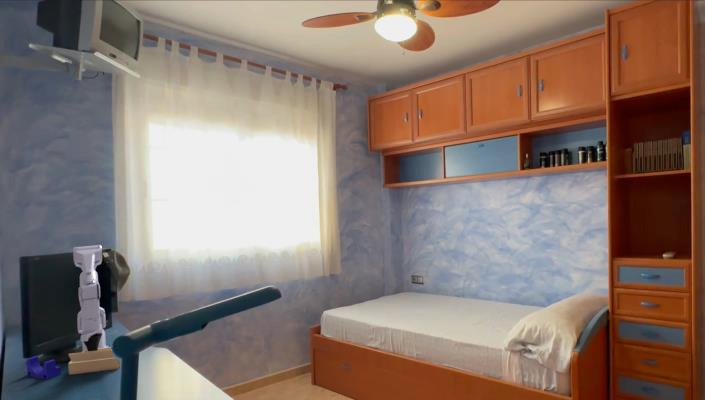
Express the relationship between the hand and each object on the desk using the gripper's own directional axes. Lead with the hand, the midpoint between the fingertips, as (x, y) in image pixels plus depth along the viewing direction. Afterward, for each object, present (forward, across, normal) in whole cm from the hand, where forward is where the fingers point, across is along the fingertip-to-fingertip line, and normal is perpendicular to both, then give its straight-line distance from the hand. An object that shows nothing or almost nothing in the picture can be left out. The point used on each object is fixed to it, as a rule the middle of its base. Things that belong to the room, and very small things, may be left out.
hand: (93, 355), depth 154 cm
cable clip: (+6, -4, -18) cm, 19 cm away
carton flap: (0, +1, 0) cm, 1 cm away
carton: (+6, -7, 0) cm, 10 cm away
